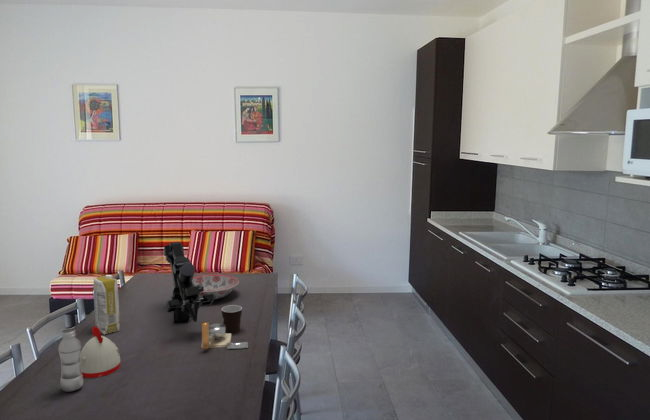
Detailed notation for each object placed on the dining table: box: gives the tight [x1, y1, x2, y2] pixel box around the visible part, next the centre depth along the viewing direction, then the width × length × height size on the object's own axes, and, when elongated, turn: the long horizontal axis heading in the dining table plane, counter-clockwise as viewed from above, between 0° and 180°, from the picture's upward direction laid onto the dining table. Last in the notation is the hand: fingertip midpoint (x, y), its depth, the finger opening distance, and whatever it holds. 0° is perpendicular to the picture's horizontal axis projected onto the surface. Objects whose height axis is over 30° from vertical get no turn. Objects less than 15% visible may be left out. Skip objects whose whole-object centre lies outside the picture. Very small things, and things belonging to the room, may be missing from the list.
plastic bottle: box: [57, 328, 84, 393], centre depth 151 cm, size 6×7×20 cm
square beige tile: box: [200, 333, 232, 349], centre depth 189 cm, size 11×11×3 cm
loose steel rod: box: [226, 341, 249, 350], centre depth 184 cm, size 8×2×2 cm
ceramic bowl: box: [192, 274, 240, 300], centre depth 242 cm, size 29×29×8 cm
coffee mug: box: [221, 304, 243, 335], centre depth 201 cm, size 12×9×10 cm
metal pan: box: [201, 321, 226, 350], centre depth 185 cm, size 14×7×10 cm, turn 165°
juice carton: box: [92, 274, 121, 336], centre depth 197 cm, size 9×8×24 cm
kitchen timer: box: [80, 325, 122, 379], centre depth 165 cm, size 14×14×15 cm
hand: (195, 321), depth 188 cm, fingers closed
